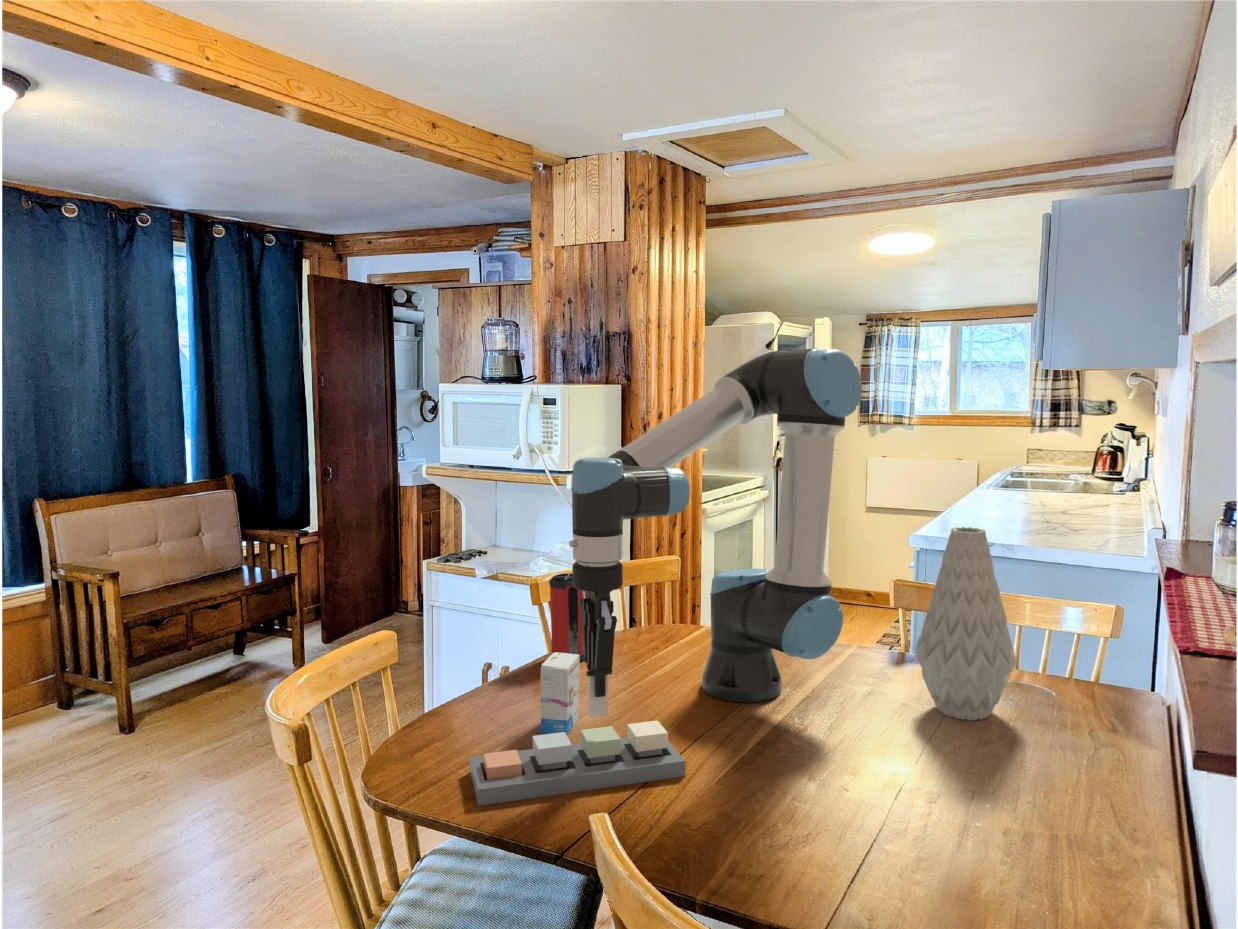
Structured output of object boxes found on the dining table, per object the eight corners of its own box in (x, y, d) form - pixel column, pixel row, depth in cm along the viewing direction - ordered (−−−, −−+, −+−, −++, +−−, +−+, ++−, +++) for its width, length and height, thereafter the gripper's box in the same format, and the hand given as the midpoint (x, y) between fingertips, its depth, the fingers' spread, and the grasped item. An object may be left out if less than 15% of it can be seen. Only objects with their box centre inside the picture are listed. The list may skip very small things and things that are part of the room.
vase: (960, 688, 165) (964, 518, 162) (1035, 718, 150) (1042, 532, 147) (893, 703, 158) (896, 526, 154) (964, 736, 143) (970, 541, 140)
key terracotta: (517, 772, 131) (516, 749, 130) (522, 787, 126) (521, 763, 126) (483, 776, 129) (483, 753, 129) (488, 792, 125) (487, 768, 124)
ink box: (568, 736, 145) (567, 668, 144) (539, 734, 146) (538, 666, 145) (580, 717, 153) (579, 652, 152) (553, 715, 154) (552, 650, 153)
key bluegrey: (565, 754, 133) (564, 731, 132) (572, 768, 128) (571, 745, 127) (533, 758, 131) (532, 735, 131) (538, 772, 126) (538, 749, 126)
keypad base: (662, 746, 140) (662, 732, 140) (685, 776, 130) (685, 760, 129) (470, 772, 132) (469, 757, 132) (478, 805, 121) (477, 789, 121)
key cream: (657, 742, 137) (657, 720, 136) (667, 755, 132) (667, 732, 132) (627, 746, 135) (627, 724, 135) (636, 759, 131) (636, 736, 130)
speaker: (554, 652, 190) (552, 572, 188) (588, 653, 189) (587, 572, 187) (547, 663, 182) (545, 580, 180) (583, 664, 181) (582, 580, 179)
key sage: (612, 748, 135) (611, 726, 134) (620, 761, 130) (620, 738, 130) (580, 752, 133) (580, 729, 133) (588, 766, 129) (588, 742, 128)
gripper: (563, 554, 134) (564, 702, 136) (583, 571, 121) (583, 733, 123) (610, 552, 136) (610, 697, 138) (634, 568, 123) (633, 728, 125)
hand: (597, 714), depth 131 cm, fingers closed
